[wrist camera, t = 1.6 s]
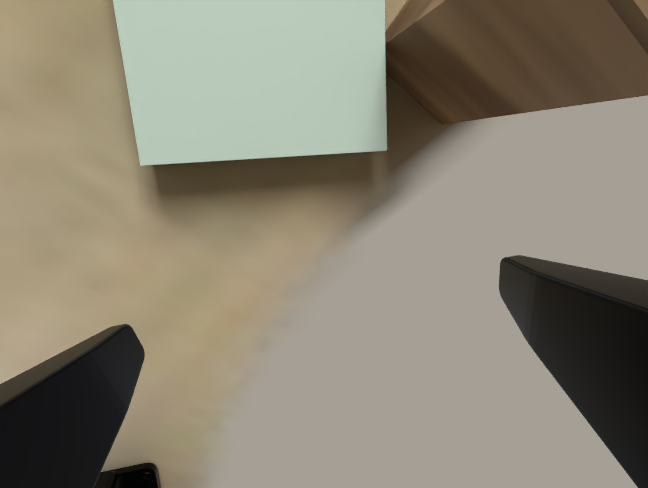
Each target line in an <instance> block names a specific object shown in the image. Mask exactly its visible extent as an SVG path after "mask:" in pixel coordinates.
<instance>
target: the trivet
mask: <svg viewBox="0 0 648 488" xmlns="http://www.w3.org/2000/svg"><path fill="white" fill-rule="evenodd" d="M113 4H114V10H115V16H116V22H117V28H118V34H119V40H120V46H121V52H122V58H123V64H124V70H125V76H126V82H127V88H128V94H129V100H130V106H131V112H132V118H133V124H134V130H135V136H136V142H137V148H138V154H139V160H140V166H143V165H159V164H175V163H192V162H208V161H225V160H241V159H257V158H274V157H290V156H307V155H323V154H339V153H356V152H372V151H387V117H386V58H385V0H113Z"/></svg>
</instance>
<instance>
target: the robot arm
mask: <svg viewBox="0 0 648 488" xmlns="http://www.w3.org/2000/svg"><path fill="white" fill-rule="evenodd" d="M499 290H500V295H501V297H502V299H503V301H504V303H505V304H506V306H507V308H508V310H509V311H510V313H511V315H512V317H513V318H514V320H515V322H516V323H517V325H518V326H519V328H520V330H521V332H522V334H523V335H524V337H525V339H526V340H527V342H528V344H529V345H530V346H531V347H532V349H533V350H534V352H535V353H536V354H537V356H538V357H539V358H540V360H541V361H542V362H543V363H544V365H545V366H546V368H547V369H548V370H549V371H550V373H551V374H552V375H553V377H554V378H555V379H556V381H557V382H558V383H559V385H560V386H561V387H562V388H563V390H564V391H565V393H566V394H567V395H568V396H569V398H570V399H571V400H572V402H573V403H574V404H575V406H576V407H577V408H578V410H579V411H580V412H581V413H582V415H583V416H584V417H585V419H586V420H587V421H588V423H589V424H590V425H591V427H592V428H593V429H594V430H595V432H596V433H597V434H598V436H599V437H600V438H601V440H602V441H603V442H604V444H605V445H606V446H607V448H608V449H609V450H610V451H611V453H612V454H613V455H614V457H615V458H616V459H617V461H618V462H619V463H620V465H621V466H622V467H623V468H624V470H625V471H626V473H627V474H628V475H629V476H630V478H631V479H632V480H633V482H634V483H635V484H636V485H637V487H638V488H648V280H643V279H638V278H633V277H628V276H622V275H618V274H612V273H608V272H602V271H598V270H592V269H587V268H582V267H576V266H572V265H567V264H562V263H557V262H552V261H547V260H541V259H537V258H531V257H526V256H521V255H517V256H511V257H505V258H503V259H502V260H501V263H500V278H499ZM144 355H145V354H144V349H143V346H142V345H141V343H140V341H139V339H138V338H137V336H136V334H135V332H134V330H133V329H132V327H131V326H130V325H127V324H123V325H117V326H112V327H110V328H108V329H106V330H104V331H102V332H100V333H98V334H96V335H94V336H92V337H90V338H88V339H87V340H85V341H83V342H81V343H79V344H77V345H75V346H73V347H71V348H69V349H67V350H65V351H63V352H62V353H60V354H58V355H56V356H54V357H52V358H50V359H48V360H46V361H44V362H42V363H40V364H38V365H37V366H35V367H33V368H31V369H29V370H27V371H25V372H23V373H21V374H19V375H17V376H15V377H14V378H12V379H10V380H8V381H6V382H4V383H2V384H0V488H161V487H160V482H159V476H158V471H157V467H156V465H154V464H153V463H143V464H139V465H134V466H129V467H124V468H119V469H115V470H110V471H105V472H101V470H102V468H103V465H104V463H105V461H106V459H107V456H108V454H109V452H110V450H111V447H112V445H113V443H114V441H115V438H116V436H117V434H118V432H119V429H120V427H121V425H122V422H123V420H124V418H125V415H126V413H127V411H128V408H129V405H130V402H131V399H132V396H133V393H134V390H135V386H136V383H137V380H138V377H139V374H140V371H141V368H142V364H143V361H144ZM144 472H149V473H150V474H144Z"/></svg>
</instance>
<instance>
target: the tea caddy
mask: <svg viewBox="0 0 648 488" xmlns="http://www.w3.org/2000/svg"><path fill="white" fill-rule="evenodd" d="M385 58H386V72H387V73H388V74H389V75H390V76H391V77H392V78H393V79H394V80H395V81H396V82H397V83H398V84H400V85H401V86H402V87H403V88H404V89H405V90H406V91H407V92H408V93H409V94H410V95H411V96H412V97H414V98H415V99H416V100H417V101H418V102H419V103H420V104H421V105H422V106H423V107H424V108H425V109H426V110H428V111H429V112H430V113H431V114H432V115H433V116H434V117H435V118H436V119H437V120H438V121H439V122H440V123H442V124H448V123H456V122H463V121H470V120H477V119H484V118H491V117H498V116H505V115H512V114H519V113H526V112H533V111H540V110H547V109H554V108H561V107H568V106H575V105H582V104H589V103H596V102H603V101H611V100H617V99H625V98H632V97H639V96H645V95H648V0H407V2H406V3H405V5H404V6H403V8H402V9H401V10H400V12H399V13H398V15H397V16H396V17H395V19H394V20H393V22H392V23H391V25H390V26H389V27H388V29H387V30H386V32H385Z"/></svg>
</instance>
